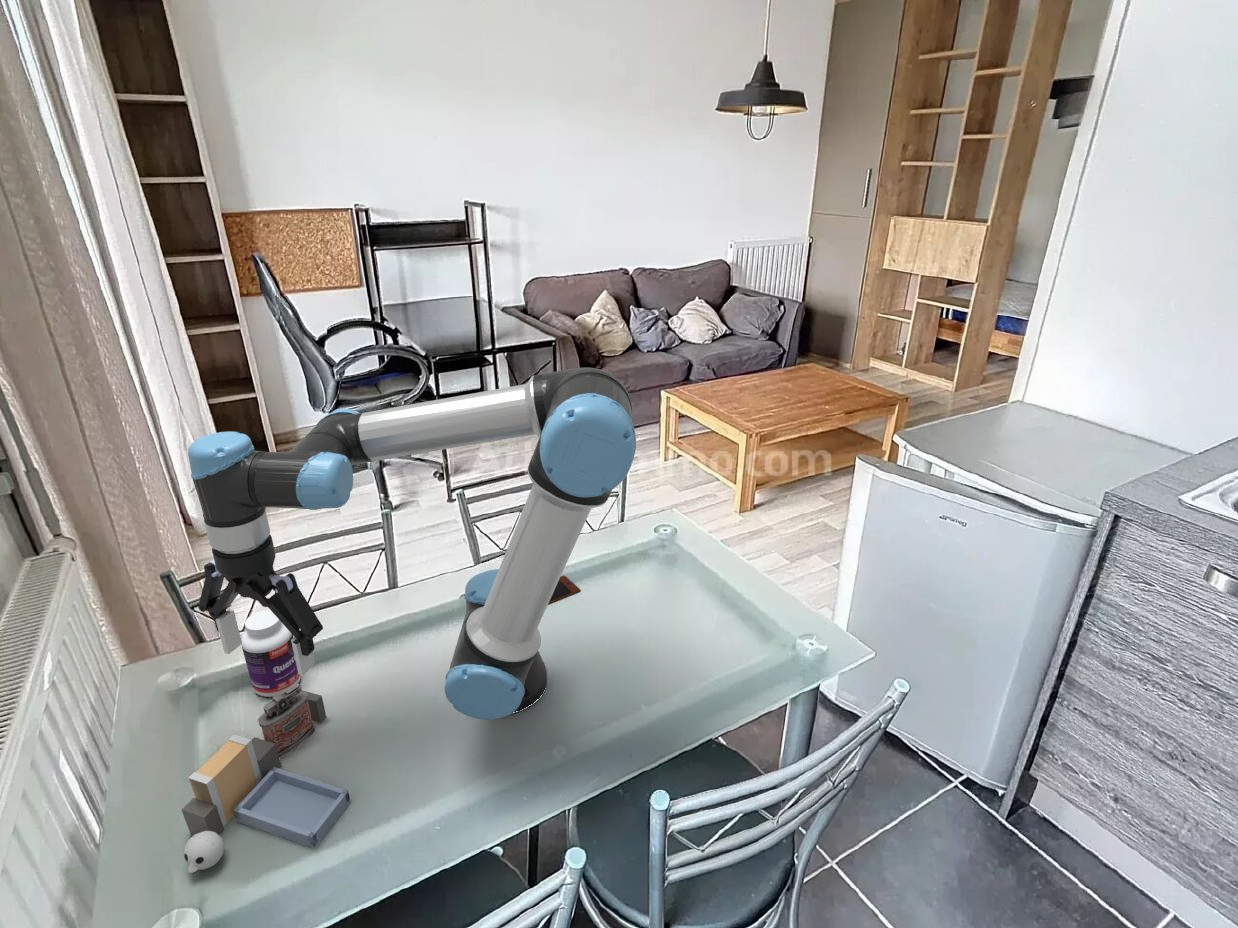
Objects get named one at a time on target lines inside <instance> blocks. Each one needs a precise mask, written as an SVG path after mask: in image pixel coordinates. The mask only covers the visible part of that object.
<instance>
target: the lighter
mask: <svg viewBox="0 0 1238 928" xmlns="http://www.w3.org/2000/svg"><path fill="white" fill-rule="evenodd" d="M302 690H303V689H302V686H301V684H299V683H298V684H295V685H294V686H292V687H291V688H289V689H288V690H286V691H285V692H284V693H282V694H276V695H274V696H273V697H272V698H271V700H270V701H268V702H267V703H266V704H264V705H263V711H264V713H263V714H262V715H260V716H259V718H258V720H257V722H258V725H259V727H260V728H261V731H262V736H263V738H264V739H263V740H266V741H269V742H272V743H275V744H276V747H277V751H278V754H279V758H280V759H281V758H283V756H286V754H289V753H290V752H292V751H293V750H295V749H296V748H298V747H299V746H300V745H302V744H303V743H304V742H305V741H306V740H307V739H308V738H309V737H311V736H312V734H314V732H315V731H316V727H315V722H314V721H312V718H311V713H310V709H309V704H308V695H307V693H306V692H304V691H305V690H303V691H302Z"/></svg>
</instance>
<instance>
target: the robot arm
mask: <svg viewBox="0 0 1238 928" xmlns="http://www.w3.org/2000/svg"><path fill="white" fill-rule="evenodd" d="M532 435H535V436H538V441H537V443H536V445H535V448H534V451H533V453H532V456H531V458H530V461H529V463H528V466H527V473H528V474H527V475H528V477H529V479H530V480H531V482H532V486H531V489H530V491H529V493H528V497H527V499H526V500H525V504H524V506H523V509H522V511H521V514H520V516H519V518H518V521H517V524H516V526H515V527H514V528H515V529H514V531H513V534H512V535H511V538H510V541H509V542H508V543H509V544H508V546H507V549H506V551H505V553H504V556H503V558H502V560H501V563H500V566H499V568H498V569H497V568H495V569H490V570H486V571H484V572H481V573H477V574H475V575H474V576H472V577H471V578H470V579H469V580H468V581H467V583H466V585H465V589H464V591H465V592H464V595H463V596H464V599H465V604H466V605H465V615H464V618H463V621H462V625H461V628H460V632H459V635H458V638H457V642H456V645H455V648H454V651H453V655H452V658H451V661H450V664H449V669H448V670H447V672H446V674H445V684H444V694H445V697H446V699H447V701H448V702H449V703H450V704H452V706H453V708H454V709H455V710H457V711H458V712H460V714H463V715H465V716H467V717H469V718H473V719H478V720H482V721H483V720H484V721H485V720H487V721H489V720H490V721H491V720H496V719H498V718H506V717H508V716H510V715H513V714H514V713H513V712H516V711H520V710H522V709H524V708H526V707H528V706H529V705H531V704H533V703H534V702H535V701H536V700H537V699H539V698H540V696H541V695H542V694H543V692H544V690H545V691H546V689H547V686H546V685H548V673H547V667H546V664H545V663H544V660H543V658H542V656H541V653H540V651H539V649H540V648H541V645H542V644H541V643H542V637H541V634H540V630H539V628H538V627H539V625H540V623H541V621H542V618H543V617H544V614H545V612H546V610H547V607H548V606H549V605H548V603H549V601H550V599H551V597H552V594H553V592H554V590H555V588H556V586H557V583H558V581H559V579H560V577H561V576H563V572H564V570H565V568H566V566H567V563H568V562H569V559H570V557H571V554H572V553H573V550H574V548H575V546H576V543H577V541H578V539H579V536H580V534H581V532H582V530H583V528H584V526H585V523H586V521H587V519H588V517H589V514H590V512H591V510H592V509H594V508H597V507H602V506H604V505H605V504H606V503H607V502H608V500H609V498H610V495H611V493H612V491H613V490H614V489H615V488H616V487H618V486H619V485H620V484H621V483H622V482H623V480H624V479H625V478H626V476H627V475H628V473H629V472H630V470H631V467H632V464H633V461H634V458H635V456H636V449H637V437H636V430H635V427H634V424H633V405H632V400H631V397H630V394H629V392H628V390H627V389H626V387H625V385H624V384H623V383H622V381H620V380H619V378H617V377H616V376H615V375H613V374H611V373H610V372H609V371H606V370H603V369H599V368H594V367H576V368H569V369H568V368H567V369H564V370H563V369H562V370H556V371H551V372H547V373H541V374H534V375H532V376H531V377H530V379H529V380H528V382H526V383H524V384H518V385H513V386H508V387H507V386H506V387H501V388H496V389H491V390H485V391H479V392H474V393H468V394H462V395H457V396H451V397H446V398H439V399H435V400H428V401H423V402H416V403H411V404H406V405H401V406H394V407H388V408H384V409H378V410H372V411H367V412H361V413H360V412H359V411H358V410H353V409H352V408H351V409H350V408H338V409H335V410H333V411H331V412H330V413H328V414H326V415H325V416H324V417H322V418H321V419H320V420H319V421H318V422H317V424H316V425H315V426H314V427H313V428H312V429H311V430H310V431H309V432H308V433H307V434H306V435H305V436H304V437H303V438H302V439H301V440H299V442H298V443H297V444H296V445H295V446H294V447H293V448H292V449H291V450H289V451H264V450H255V447H254V445H253V442H252V440H251V438H250V437H249V435H247V434H245V433H240V432H239V431H220V432H214V433H210V434H206V435H204V436H201V437H199V438H197V439H196V440H195V441H193V442H192V443H191V444H190V445H189V447H188V450H187V456H188V461H189V466H190V473H191V474H190V477H191V479H192V481H193V484H194V487H195V491H196V493H197V497H198V502H199V504H200V507H201V510H202V517H203V522H204V523H203V524H204V528H205V531H206V535H207V538H208V539H207V540H208V542H209V546H210V547H211V554H212V557H213V559H212V560H211V561H209V562H207V563H206V564H204V566H203V569H204V576H205V577H204V582H203V586H202V590H201V593H200V594H201V595H200V599H199V602H198V606H197V607H198V610H199V611H200V612H202V613H205V612H208V614H209V616H210V617H211V618H213V622H214V625H215V628H216V631H217V632H218V634H219V637H220V642H221V645H222V650H223V652H224V653H223V654H226V655H230V654H231V653H233V651H235V650H236V649H237V648H239V647H240V646H241V644H242V640H241V638H242V636H241V633H240V630H239V629H240V628H239V625H238V621H237V618H236V614H235V610H234V609H230V607H232V603H233V602H234V601H235V599H236V598H237V597H238V595H239V596H240V597H241V598H250V599H251V600H254V601H258V603H259V604H260V605H261V606H262V607H264V608H268V610H271V611H272V612H273V613H274V614H275V616H276V617H277V618H278V619H279V620H280V621H281V622H282V623H283V625H284V626H285V627H286V628H287V629H288V630H289V631H290V632H291V634H292V635H293V637H294V638H293V639H291V642H292V647H293V651H294V656H295V660H296V665H297V670H298V674H300V675H301V676H304V675H305V674H306V673H307V672H308V671H309V670H310V669H311V668H312V667H313V666H315V664H316V662H315V661H316V660H315V657H314V651H315V643H314V639H315V637H316V636H317V635H318V634H319V633H320V632H321V631H322V630H323V629H324V626H323V624H322V622H321V621H320V620H319V618H318V616H317V615H316V613H315V612H314V611H313V608H312V607H311V606H310V604H309V602H308V600H307V599H306V597H305V596H304V595H303V592H302V591H301V589H300V588H299V586H298V583H297V579H296V576H295V575H294V574H293V573H291V572H289V573H288V574H286V575H285V576H283V575H278V574H277V572H276V571H275V569H274V564H275V560H276V550H275V546H274V541H273V537H272V535H271V529H270V524H269V519H268V514H267V510H266V508H280V509H299V510H301V509H302V510H310V511H318V510H325V509H327V510H328V509H339V508H342V507H343V506H345V505H346V504H347V502H348V501H349V500H350V498H351V492H352V491H353V486H354V472H353V471H354V470H353V466H355V465H360V464H367V463H372V462H377V461H381V460H388V459H394V458H400V457H405V456H406V457H407V456H412V455H418V454H423V453H431V452H436V451H442V450H443V451H444V450H448V449H453V448H454V449H455V448H459V447H460V448H461V447H466V446H467V447H468V446H472V445H478V444H483V443H484V444H485V443H490V442H496V441H502V440H508V439H514V438H520V437H526V436H532ZM224 579H225V581H227V582H228V583H227V585H226V586H225V588H224V589H223V591H222V594H221V590H222V587H223V583H224ZM272 591H273V592H274V594H272V595H271V596H270V597H269V598H267V596H268V595H270V594H271V592H272ZM228 608H229V609H228ZM227 609H228V610H227ZM545 688H546V689H545ZM544 693H545V692H544ZM543 695H544V694H543ZM543 695H542V696H543ZM540 699H541V698H540ZM540 699H539V700H540ZM533 705H534V704H533ZM520 712H521V711H520ZM512 713H513V714H512Z"/></svg>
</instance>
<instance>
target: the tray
mask: <svg viewBox="0 0 1238 928" xmlns="http://www.w3.org/2000/svg"><path fill="white" fill-rule="evenodd" d="M350 796H351V795H350V794H349V790H348V789H345V788H341V787H338V786H335V785H331V784H328V783H326V782H322V781H320V780H316V779H314V778H310V777H307V776H303V775H300V774H297V773H295V772H291V771H288V770H284V769H282V768H280V769H279V768H276V767H273V768H272V770H271V771H270V772H269V773H268V774H267V775H266V776H265V777H264V778H263V779H262V780H261V781H260V782H259V784H258V785H257V786H256V787H255V788H254V789H253V790H252V791H251V792H250V793H249V794H248V795H247V796H246V798H245V799H244V800H243V801H242V802H241V803H240V804H239V805H238V806H237V807H236V808H235V809H234V817H235V819H236V822H237V823H240V824H243V825H245V826H248V827H251V828H254V829H257V830H260V831H263V832H266V833H269V834H271V835H273V836H278V837H279V838H283V839H286V840H288V841H291V842H294V843H296V844H299V845H303V846H306V847H308V848H311V849H314V848H315V847H316V846H317V847H318V845H319V844H320V843H321V841H322V840H323V839H324V838H325V836H326V834H328V833H329V831H330V830H331V828H332V827H333V826H334V825H335V823H336V822H337V821H338V819H339V818H340V817H341V815H342V814H343V813H342V812H344V811H345V810H346V809H347V807H348V806H349V805H350V803H351V797H350ZM348 804H349V805H348ZM345 808H346V809H345ZM335 821H336V822H335ZM332 825H333V826H332ZM323 837H324V838H323ZM319 842H320V843H319ZM318 843H319V844H318ZM317 847H316V848H317ZM316 848H315V849H316Z"/></svg>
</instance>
